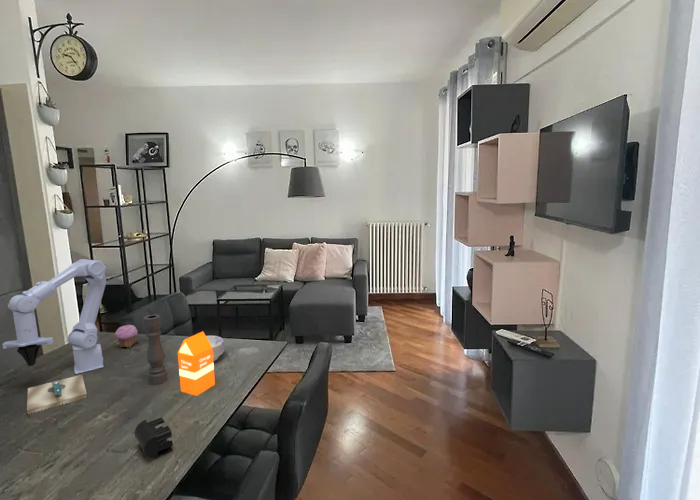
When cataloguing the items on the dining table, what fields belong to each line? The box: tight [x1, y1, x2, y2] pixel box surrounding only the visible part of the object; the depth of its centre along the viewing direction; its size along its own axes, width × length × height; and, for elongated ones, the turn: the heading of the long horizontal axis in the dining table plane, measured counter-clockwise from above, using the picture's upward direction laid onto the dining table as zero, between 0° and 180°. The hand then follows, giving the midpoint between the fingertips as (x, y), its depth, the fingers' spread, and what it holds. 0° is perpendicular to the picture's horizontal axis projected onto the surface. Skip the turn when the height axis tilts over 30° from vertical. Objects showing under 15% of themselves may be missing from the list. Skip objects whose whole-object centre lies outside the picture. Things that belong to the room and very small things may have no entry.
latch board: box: [26, 374, 88, 415], centre depth 136 cm, size 16×18×2 cm
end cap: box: [134, 416, 174, 459], centre depth 107 cm, size 10×7×7 cm
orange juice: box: [177, 330, 216, 397], centre depth 138 cm, size 8×9×20 cm
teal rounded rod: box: [51, 379, 62, 396], centre depth 135 cm, size 9×2×2 cm, turn 41°
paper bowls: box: [205, 335, 225, 362], centre depth 162 cm, size 15×15×8 cm
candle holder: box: [143, 313, 168, 386], centre depth 143 cm, size 6×6×25 cm
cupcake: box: [114, 324, 138, 349], centre depth 176 cm, size 9×9×10 cm
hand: (31, 364), depth 138 cm, fingers closed
